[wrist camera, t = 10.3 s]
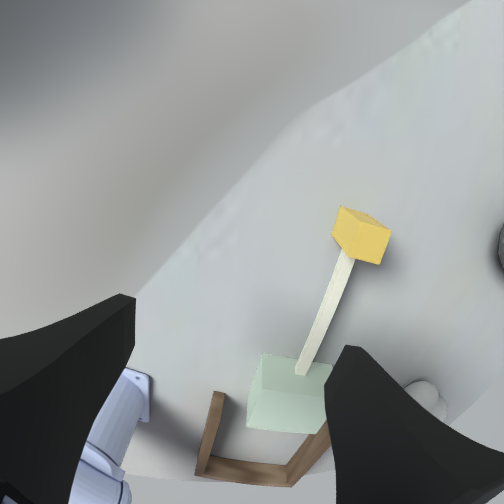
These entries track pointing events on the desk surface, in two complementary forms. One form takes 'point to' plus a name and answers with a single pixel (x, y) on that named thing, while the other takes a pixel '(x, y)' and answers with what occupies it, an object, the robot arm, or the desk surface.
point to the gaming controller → (501, 247)
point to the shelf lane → (250, 470)
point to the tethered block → (312, 341)
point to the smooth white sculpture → (428, 398)
